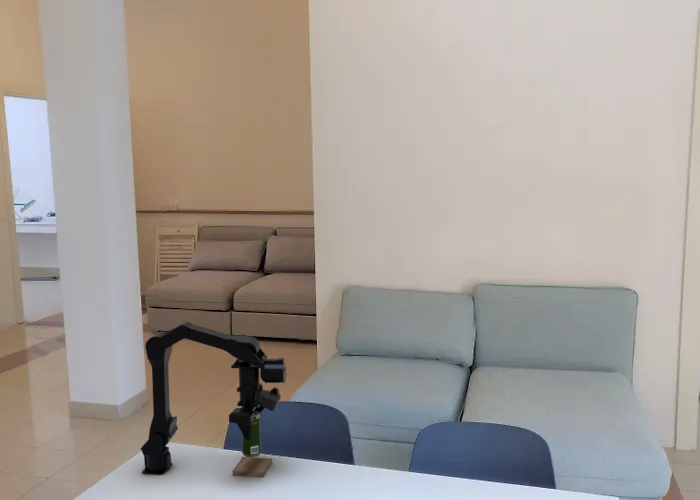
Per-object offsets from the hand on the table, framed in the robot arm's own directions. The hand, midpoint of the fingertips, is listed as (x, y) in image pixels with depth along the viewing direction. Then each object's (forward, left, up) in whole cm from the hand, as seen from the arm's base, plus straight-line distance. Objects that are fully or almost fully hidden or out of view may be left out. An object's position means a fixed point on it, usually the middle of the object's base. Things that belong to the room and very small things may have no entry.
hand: (251, 435), depth 183 cm
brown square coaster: (0, 0, -11) cm, 11 cm away
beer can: (0, 0, -6) cm, 6 cm away
